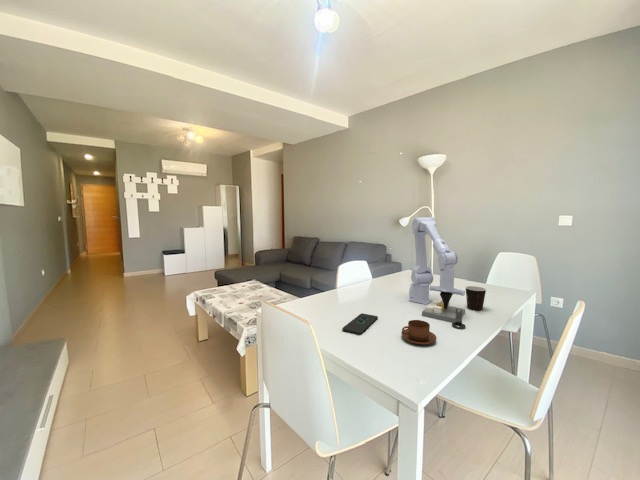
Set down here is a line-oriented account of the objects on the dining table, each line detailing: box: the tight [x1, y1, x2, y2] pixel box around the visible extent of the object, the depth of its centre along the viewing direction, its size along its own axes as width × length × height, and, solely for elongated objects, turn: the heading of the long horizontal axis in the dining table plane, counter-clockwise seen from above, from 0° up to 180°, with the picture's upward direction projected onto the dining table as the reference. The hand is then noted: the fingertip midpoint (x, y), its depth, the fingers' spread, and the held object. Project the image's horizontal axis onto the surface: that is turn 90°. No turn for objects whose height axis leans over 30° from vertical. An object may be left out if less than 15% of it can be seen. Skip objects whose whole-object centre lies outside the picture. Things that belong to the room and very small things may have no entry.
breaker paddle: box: [437, 303, 445, 311], centre depth 127 cm, size 3×2×3 cm, turn 50°
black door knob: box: [451, 309, 466, 330], centre depth 112 cm, size 5×5×7 cm
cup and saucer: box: [401, 319, 437, 346], centre depth 101 cm, size 12×12×6 cm
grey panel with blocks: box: [421, 299, 466, 324], centre depth 126 cm, size 14×16×5 cm
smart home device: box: [341, 312, 379, 336], centre depth 115 cm, size 8×2×20 cm
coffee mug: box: [465, 285, 487, 312], centre depth 132 cm, size 12×9×10 cm
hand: (446, 308), depth 126 cm, fingers closed
